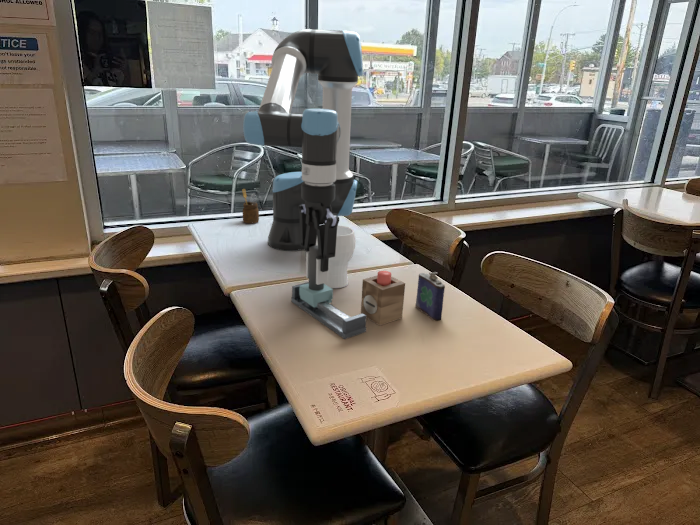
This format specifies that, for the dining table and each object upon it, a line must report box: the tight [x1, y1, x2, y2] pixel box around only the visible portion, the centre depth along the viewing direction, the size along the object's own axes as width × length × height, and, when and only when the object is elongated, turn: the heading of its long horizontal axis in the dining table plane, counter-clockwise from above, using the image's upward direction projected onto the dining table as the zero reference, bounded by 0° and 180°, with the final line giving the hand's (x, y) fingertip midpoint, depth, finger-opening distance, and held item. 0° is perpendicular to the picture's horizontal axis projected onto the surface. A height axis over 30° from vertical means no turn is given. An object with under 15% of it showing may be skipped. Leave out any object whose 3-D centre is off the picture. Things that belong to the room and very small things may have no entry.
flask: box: [415, 271, 446, 322], centre depth 119 cm, size 9×3×11 cm, turn 26°
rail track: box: [291, 281, 367, 340], centre depth 116 cm, size 22×6×4 cm, turn 38°
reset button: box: [376, 270, 392, 286], centre depth 115 cm, size 3×3×4 cm
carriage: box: [299, 245, 334, 307], centre depth 117 cm, size 6×6×13 cm
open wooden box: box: [360, 275, 406, 326], centre depth 116 cm, size 7×8×9 cm
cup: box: [316, 224, 357, 289], centre depth 133 cm, size 11×11×15 cm
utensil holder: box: [241, 188, 260, 225], centre depth 183 cm, size 6×6×12 cm
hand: (316, 279), depth 117 cm, fingers closed on carriage, 4 cm apart
